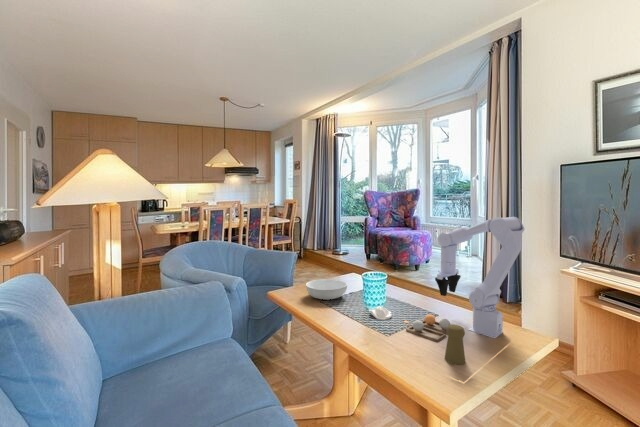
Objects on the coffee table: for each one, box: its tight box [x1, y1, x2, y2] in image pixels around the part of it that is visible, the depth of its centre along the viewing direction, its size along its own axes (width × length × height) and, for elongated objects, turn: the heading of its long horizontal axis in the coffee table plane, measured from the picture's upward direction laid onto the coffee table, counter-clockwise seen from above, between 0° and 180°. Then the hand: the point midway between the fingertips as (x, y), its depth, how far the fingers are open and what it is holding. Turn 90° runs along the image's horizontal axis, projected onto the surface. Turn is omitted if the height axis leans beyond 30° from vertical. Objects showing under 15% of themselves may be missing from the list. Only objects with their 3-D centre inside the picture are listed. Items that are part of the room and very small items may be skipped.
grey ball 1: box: [412, 319, 424, 332], centre depth 120 cm, size 4×4×4 cm
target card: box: [402, 320, 413, 326], centre depth 127 cm, size 8×5×1 cm, turn 42°
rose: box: [369, 305, 393, 321], centre depth 136 cm, size 10×4×10 cm
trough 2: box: [420, 319, 447, 335], centre depth 123 cm, size 12×6×1 cm, turn 42°
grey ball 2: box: [438, 318, 452, 330], centre depth 121 cm, size 4×4×4 cm
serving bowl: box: [305, 278, 348, 301], centre depth 162 cm, size 21×21×7 cm
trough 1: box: [405, 325, 447, 343], centre depth 117 cm, size 12×6×1 cm, turn 42°
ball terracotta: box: [424, 314, 436, 325], centre depth 125 cm, size 4×4×4 cm
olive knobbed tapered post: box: [444, 324, 466, 366], centre depth 98 cm, size 6×6×11 cm
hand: (447, 293), depth 134 cm, fingers open, 7 cm apart
